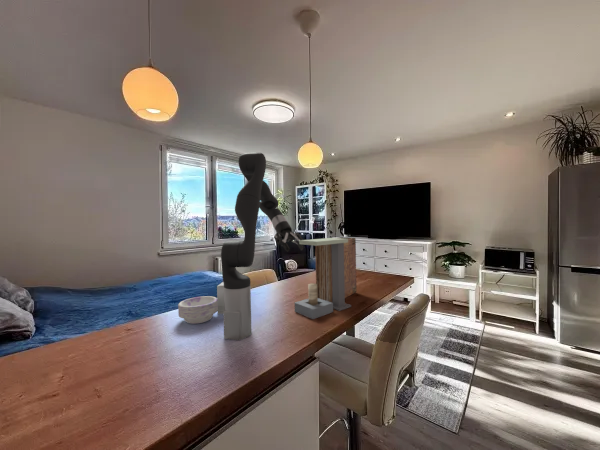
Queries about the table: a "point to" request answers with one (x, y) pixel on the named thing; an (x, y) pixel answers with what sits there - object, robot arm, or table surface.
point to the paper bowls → (198, 309)
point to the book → (325, 269)
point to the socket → (313, 308)
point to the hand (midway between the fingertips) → (295, 249)
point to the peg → (312, 294)
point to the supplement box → (220, 298)
